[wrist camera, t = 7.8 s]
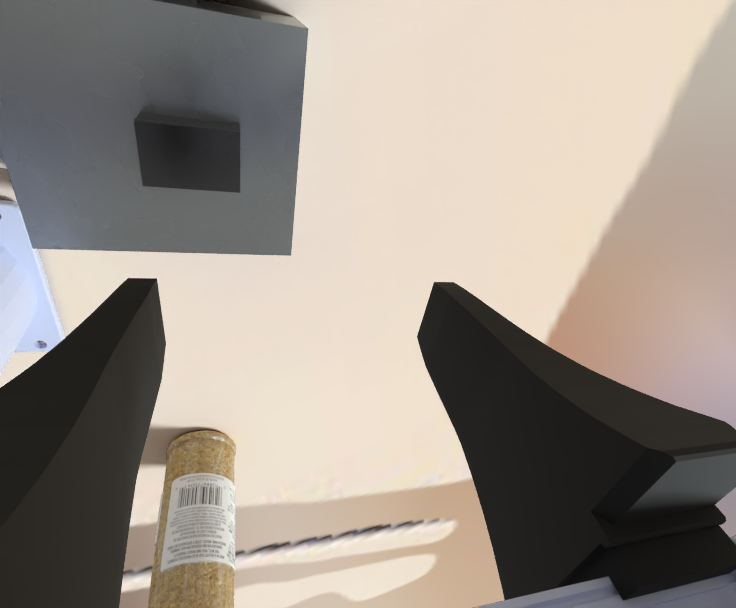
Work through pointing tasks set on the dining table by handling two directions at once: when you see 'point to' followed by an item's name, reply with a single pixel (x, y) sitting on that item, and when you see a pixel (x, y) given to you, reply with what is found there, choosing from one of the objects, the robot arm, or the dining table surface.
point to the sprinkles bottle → (196, 525)
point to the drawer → (152, 124)
